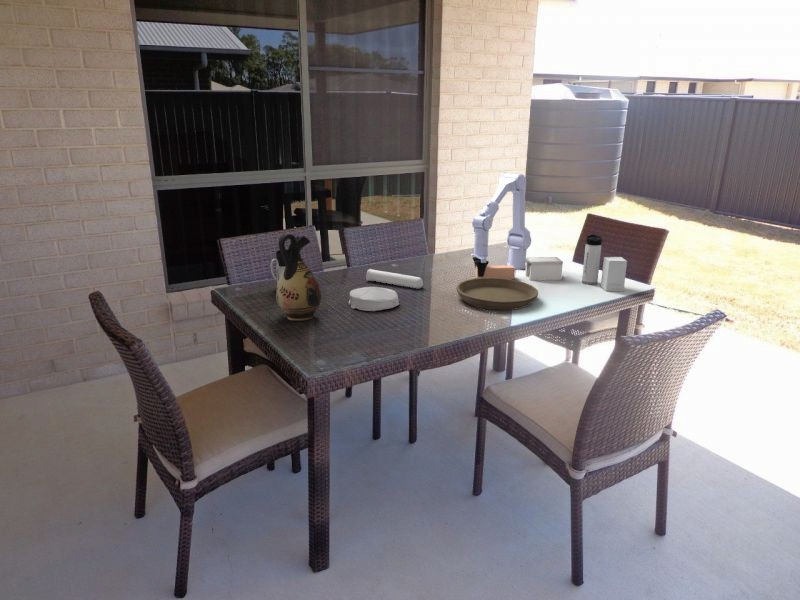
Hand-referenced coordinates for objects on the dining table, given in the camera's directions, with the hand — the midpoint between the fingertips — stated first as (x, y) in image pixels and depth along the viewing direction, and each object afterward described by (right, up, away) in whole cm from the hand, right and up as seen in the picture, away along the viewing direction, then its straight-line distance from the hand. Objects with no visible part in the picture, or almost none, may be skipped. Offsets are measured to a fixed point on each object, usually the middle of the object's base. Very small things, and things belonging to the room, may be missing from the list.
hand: (479, 275), depth 260 cm
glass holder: (-81, -7, -17) cm, 83 cm away
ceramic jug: (-70, -17, -49) cm, 87 cm away
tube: (-36, -5, -9) cm, 38 cm away
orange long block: (+7, -1, +1) cm, 7 cm away
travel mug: (+46, -4, -5) cm, 46 cm away
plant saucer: (+3, -11, -27) cm, 29 cm away
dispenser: (+27, -1, +2) cm, 27 cm away
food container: (-44, -12, -33) cm, 56 cm away
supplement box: (+52, -6, -13) cm, 54 cm away
